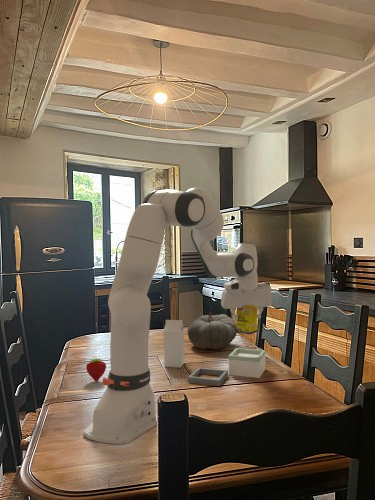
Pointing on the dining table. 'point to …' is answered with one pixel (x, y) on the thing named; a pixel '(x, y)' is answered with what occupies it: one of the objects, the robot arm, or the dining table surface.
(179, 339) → the milk carton
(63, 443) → the dining table surface
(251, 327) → the supplement box
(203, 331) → the gourd
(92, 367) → the strawberry
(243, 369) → the white box and frame
